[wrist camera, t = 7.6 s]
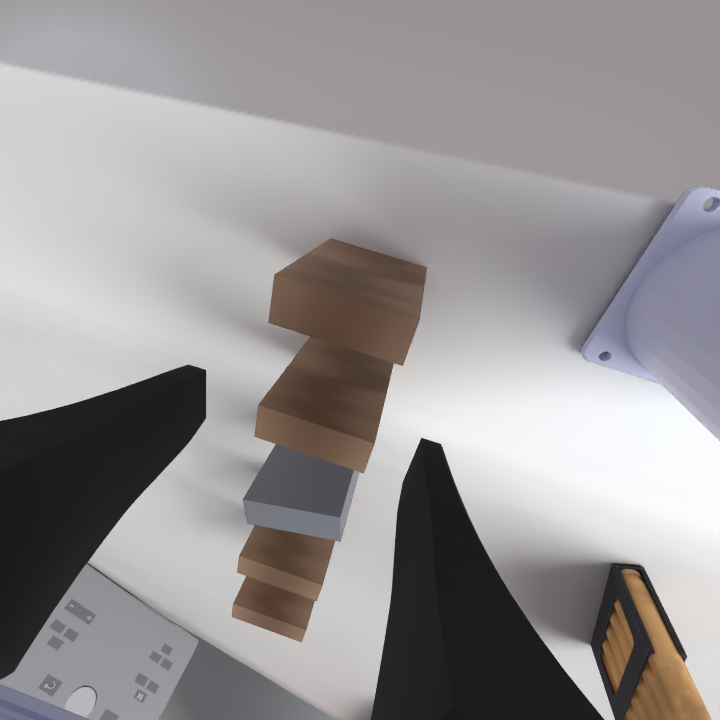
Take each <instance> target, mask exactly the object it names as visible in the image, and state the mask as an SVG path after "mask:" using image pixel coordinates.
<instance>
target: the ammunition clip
mask: <svg viewBox="0 0 720 720" xmlns="http://www.w3.org/2000/svg"><path fill="white" fill-rule="evenodd" d="M591 647H592V650H593V653H594V656H595V659H596V662H597V666H598V669H599V672H600V675H601V678H602V681H603V684H604V687H605V690H606V693H607V696H608V699H609V702H610V705H611V708H612V711H613V715H614V718H615V720H711V717H710V715H709V713H708V711H707V709H706V707H705V705H704V703H703V701H702V698H701V696H700V694H699V692H698V690H697V688H696V686H695V684H694V682H693V680H692V678H691V676H690V674H689V672H688V670H687V668H686V666H685V663H684V662H685V660H686V658H687V655H686V653H685V651H684V649H683V647H682V645H681V643H680V640H679V638H678V636H677V634H676V632H675V630H674V628H673V626H672V624H671V622H670V620H669V618H668V616H667V614H666V612H665V610H664V608H663V606H662V604H661V602H660V600H659V598H658V596H657V594H656V592H655V589H654V587H653V585H652V583H651V581H650V579H649V577H648V575H647V573H646V571H645V569H644V567H638V566H627V565H615V564H614V565H613V564H612V565H611V569H610V573H609V577H608V580H607V584H606V588H605V592H604V596H603V599H602V603H601V607H600V611H599V614H598V618H597V622H596V626H595V630H594V633H593V637H592V641H591Z"/></svg>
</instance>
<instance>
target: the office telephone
mask: <svg viewBox="0 0 720 720" xmlns="http://www.w3.org/2000/svg"><path fill="white" fill-rule="evenodd" d="M197 643H198V640H197V639H196V638H194V637H193V636H191V635H190V634H189V633H187V632H186V631H184V630H183V629H181V628H180V627H179V626H177V625H175V624H172V623H171V622H169V621H167V620H166V619H164V618H163V617H161V616H160V615H158V614H157V613H156V612H154V611H153V610H151V609H150V608H149V607H147V606H146V605H144V604H143V603H141V602H140V601H139V600H137V599H136V598H134V597H133V596H132V595H130V594H129V593H127V592H126V591H124V590H123V589H122V588H120V587H119V586H117V585H116V584H115V583H113V582H112V581H110V580H109V579H108V578H106V577H105V576H103V575H102V574H100V573H99V572H98V571H96V570H95V569H93V568H92V567H91V566H89V565H88V564H86V565H85V566H84V568H83V569H82V570H81V572H80V573H79V575H78V576H77V577H76V579H75V580H74V582H73V583H72V585H71V586H70V588H69V589H68V590H67V592H66V593H65V595H64V596H63V598H62V599H61V601H60V602H59V604H58V605H57V606H56V608H55V609H54V611H53V612H52V614H51V615H50V617H49V618H48V620H47V621H46V623H45V624H44V626H43V628H42V629H41V631H40V632H39V634H38V635H37V637H36V638H35V640H34V641H33V643H32V644H31V646H30V648H29V649H28V651H27V652H26V654H25V655H24V657H23V658H22V660H21V662H20V663H19V665H18V667H17V668H16V670H15V671H14V672H13V673H12V674H10V675H8V676H7V677H5V678H3V679H1V680H0V684H2V685H4V686H7V687H9V688H12V689H14V690H17V691H20V692H22V693H25V694H27V695H30V696H32V697H35V698H37V699H40V700H42V701H45V702H48V703H50V704H53V705H55V706H58V707H60V708H63V709H65V710H68V711H70V712H73V713H76V714H78V715H81V716H83V717H86V718H88V719H91V720H158V719H159V717H160V715H161V713H162V711H163V709H164V707H165V706H166V704H167V702H168V700H169V698H170V696H171V694H172V692H173V690H174V688H175V687H176V685H177V683H178V681H179V679H180V677H181V675H182V673H183V672H184V670H185V668H186V665H187V664H188V662H189V660H190V658H191V656H192V654H193V653H194V650H195V648H196V646H197ZM81 686H82V687H81Z"/></svg>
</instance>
